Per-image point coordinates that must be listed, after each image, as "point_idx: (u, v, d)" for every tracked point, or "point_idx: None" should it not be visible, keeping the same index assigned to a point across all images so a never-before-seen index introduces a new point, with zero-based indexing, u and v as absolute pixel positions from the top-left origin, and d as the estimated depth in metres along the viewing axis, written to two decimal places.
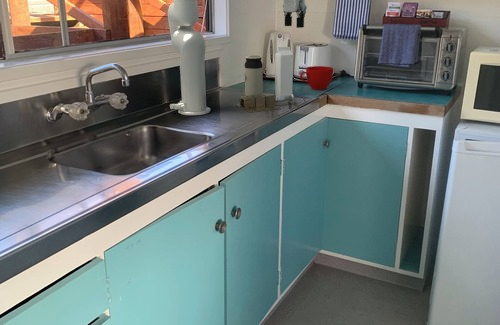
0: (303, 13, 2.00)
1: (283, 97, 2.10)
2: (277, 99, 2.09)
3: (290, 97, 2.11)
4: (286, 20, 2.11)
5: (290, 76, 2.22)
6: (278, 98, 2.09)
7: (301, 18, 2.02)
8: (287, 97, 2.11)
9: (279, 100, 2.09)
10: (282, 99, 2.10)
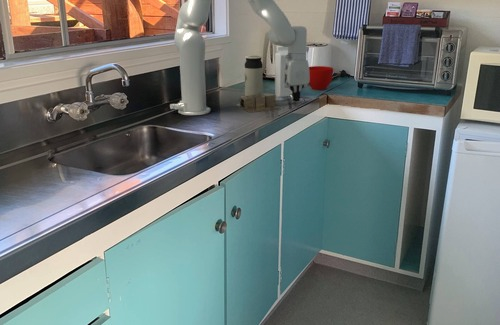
0: None
1: (282, 97, 2.10)
2: (276, 99, 2.08)
3: (289, 97, 2.11)
4: None
5: None
6: (277, 98, 2.09)
7: None
8: (286, 97, 2.10)
9: (278, 100, 2.09)
10: (281, 99, 2.09)
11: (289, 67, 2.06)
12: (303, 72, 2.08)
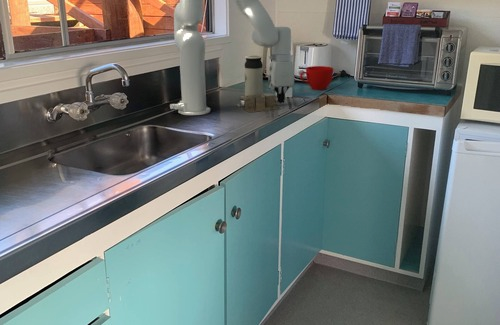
0: None
1: None
2: None
3: None
4: None
5: None
6: None
7: None
8: None
9: None
10: None
11: (273, 68, 2.03)
12: (287, 73, 2.05)
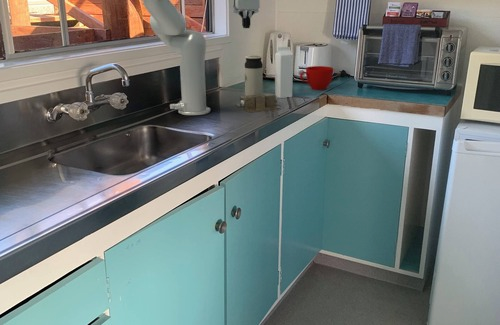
0: None
1: None
2: None
3: None
4: None
5: (290, 76, 2.22)
6: None
7: None
8: None
9: None
10: None
11: None
12: None
